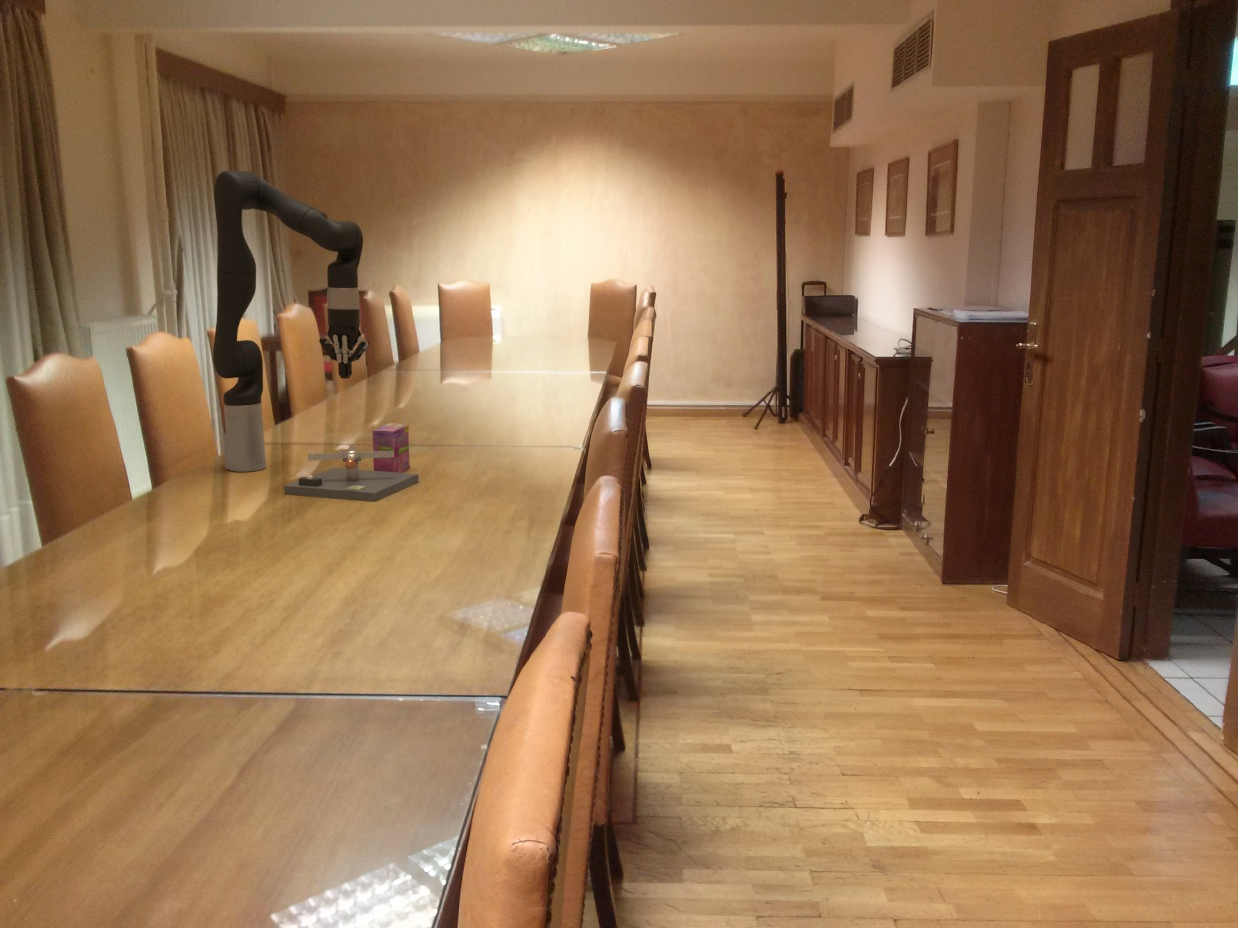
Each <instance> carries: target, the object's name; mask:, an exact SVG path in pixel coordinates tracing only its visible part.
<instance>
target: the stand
mask: <svg viewBox="0 0 1238 928" xmlns="http://www.w3.org/2000/svg"><path fill="white" fill-rule="evenodd" d="M355 463H356V466H355V468H354V469H351V470H349V469H347V468H346V467H345V468H342V467H340V468H339V467H332V468H328V469H326V470H324V471H321V472H318V473H315V474H313V475H312V474H308V475H307V476H302V477H300V478H298V480H296V481H294V482H291V483H289V484H286V485H284V495H291V496H292V495H293V496H303V497H304V496H305V497H313V498H314V497H316V498H317V497H318V498H327V499H340V500H351V501H352V500H355V501H366V502H377V501H379V500H382V499H384V498H386V497H388V496H391V495H393V494H395V493H397V492H400V491H402V490H404V489H406V488H408V487H411V486H413V485H415V484H417V483H419V482H420V481H419V473H410V472H409V473H408V472H401V473H397V472H383V471H374V470H367V469H359V461H358V462H355Z"/></svg>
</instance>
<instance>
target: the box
mask: <svg viewBox="0 0 1238 928" xmlns="http://www.w3.org/2000/svg"><path fill="white" fill-rule="evenodd" d="M409 432H410V431H409V423H396V422H395V423H392V422H391V423H386V424H385V425H382V426H379V427H378V428H375V429H373V430H372V451H388V450H394V457H384V458H372V460H373V471H383V472H397V473H404V472H405V471H407V470H408V469H410V468H411V465H410V437H409V435H410V434H409Z"/></svg>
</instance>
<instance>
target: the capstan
mask: <svg viewBox="0 0 1238 928" xmlns="http://www.w3.org/2000/svg"><path fill="white" fill-rule="evenodd" d="M384 457H394V450H388V451H373V450H370V451H369V450H368V451H364V450H363V451H362V450H361V449H360V448H356V444H349V447H348V448H347V449H343V450H341V452H321V453H319V452H318V453H314V452H313V453H308V454H307V458H308V459H307V461H311V462H312V461H329V460H330V461H331V460H334V461H335V460H342V462H344V466H345V469H346V468H347V469H349V470H351V469H354V468H355V466H356V463H355V462H358V463H359V462H361V461H362V459H373V458H384Z"/></svg>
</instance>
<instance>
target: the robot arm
mask: <svg viewBox="0 0 1238 928" xmlns="http://www.w3.org/2000/svg"><path fill="white" fill-rule="evenodd" d="M213 185H214V186H213V198H214V211H215V221H216V233H217V234H216V235H217V238H216V240H217V243H216V244H217V263H216V289H217V290H216V292H217V293H216V294H217V295H216V296H217V297H216V298H217V299H216V321H215V322H216V323H215V331H214V332H215V333H214V340H213V348H212V349H213V350H212V351H213V352H212V358H213V359H212V360H213V361H212V362H213V368H214V370H215V372H216V374H217V375H218V376H219V377H220V378H221V379H222V378H223V379H237V378H238V379H237V382H236V383H235V385H234V386H233V387H231V388H230V389H228V390H227V391H225V392H224V393H223V396H222V397H223V398H222V399H223V408H224V410H223V411H224V412H223V413H224V423H225V424H224V425H225V432H223V434H222V440H223V441H222V442H223V455H224V457H223V458H224V466H225V470H229V471H230V472H231V471H232V472H241V473H242V472H244V473H246V472H254V471H255V472H256V471H261V470H264V469H265V468H267V462H266V448H265V447H266V446H265V434H264V421H263V420H264V419H263V408H262V407H263V405H262V395H263V391H264V363H263V362H264V361H263V355H262V350H261V349H260V347H259V344H258V343H256V342H255V341H253V340H250V339H244V340H243V339H242V340H238V332H239V326H240V324H241V321H242V318H243V317H244V314H245V313H246V311H247V309H248V308H249V306H250V304H251V302H252V301H253V298H254V297H255V294H256V290H257V264H256V260H255V257H254V255H253V253H252V251H251V248H250V247H249V244H248V243H247V240H246V238H245V235H244V232H243V231H244V230H243V218H242V217H243V211H244V210H245V211H246V210H247V211H248V210H258V211H262V212H265V213H269V214H271V215H273V216H275V217H276V218H277V219H279V221H280V222H281V223H282V224H283V225H284V226H285V227H287V228H288V229H290V230H291V231H293V232H296V233H297V234H300V235H302V236H304V237H307V238H309V239H310V240H311V241H313V242H314V243H316V244H317V246H320V247H321V248H323V249H324V250H326V251H330V252H335V253H336V252H337V255H336V259H335V260H334V261H332V262H330V263H329V264H328V265H327V270H326V273H327V274H326V275H327V281H326V282H327V294H326V306H327V309H326V311H327V312H326V313H327V314H326V315H327V325H328V330H327V332H326V334H327V335H325V336H324V337H322V338H319V341H318V342H319V344H320V345H321V347H322V348H323V349H324V351H325V352H326V354H327V355H328V357H329V358H330V360H331V361H333V360H334V361H335V362H336V363H337V366H338V375H339V377H340V379H342V380H343V379H345V380H347V379H350V378H351V376H352V374H353V369H352V366H353V365H352V363H353V362H356V361H359V360H360V358H361V357H362V356H363V354H364V353H365V352H366V350H367V349H368V348H369V346H370V344H371V343H370V341H369V340H365V338H363V336H362V333H361V330H360V326H361V325H360V324H361V314H360V312H361V311H360V304H361V303H360V294H359V293H360V292H359V285H358V284H359V280H358V279H359V276H358V275H359V274H358V273H359V272H358V269H359V267H360V266H359V265H360V262H361V256H362V252H363V248H364V247H363V246H364V234H363V232H362V230H361V228H360V226H359V225H358V224H357V223H356V222H354V221H349V220H348V221H347V220H342V221H341V220H340V221H339V220H334V219H333V220H332V219H329V218H328V215H327V214H326V213H324V212H323V211H322V210H320V209H318V208H316V207H314V206H311V205H309V204H308V203H304V202H303V201H300V200H298V199H297V198H294V197H292V196H290V195H288V194H286V193H284V192H283V191H281V190H280V189H278V188H276V187H275V186H274V185H273V184H271V183H269V182H268V181H267V180H265V179H264V178H262V177H261V176H259V175H257V174H256V173H254V172H251V171H249V170H248V171H247V170H223V171H221V172H220V173H219V174H218V175H217V176H216V178H215V181H214V184H213ZM356 346H357V347H356ZM355 347H356V348H355Z"/></svg>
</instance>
